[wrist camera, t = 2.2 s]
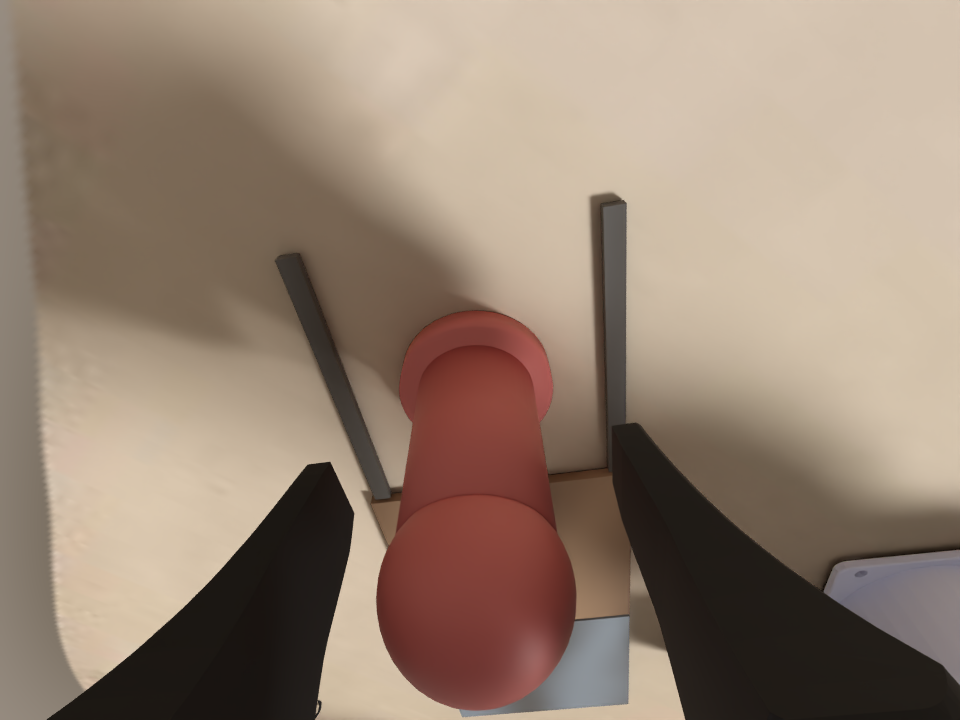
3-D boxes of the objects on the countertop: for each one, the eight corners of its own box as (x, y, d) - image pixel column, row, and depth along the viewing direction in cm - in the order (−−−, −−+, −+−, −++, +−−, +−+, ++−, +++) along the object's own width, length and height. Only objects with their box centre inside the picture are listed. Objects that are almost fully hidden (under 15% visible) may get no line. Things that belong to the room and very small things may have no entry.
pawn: (541, 299, 15) (618, 612, 7) (554, 420, 17) (620, 746, 9) (386, 322, 15) (289, 643, 7) (421, 437, 18) (378, 763, 10)
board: (631, 199, 13) (635, 203, 13) (626, 696, 30) (628, 704, 29) (271, 257, 14) (266, 262, 14) (462, 709, 30) (462, 717, 30)
